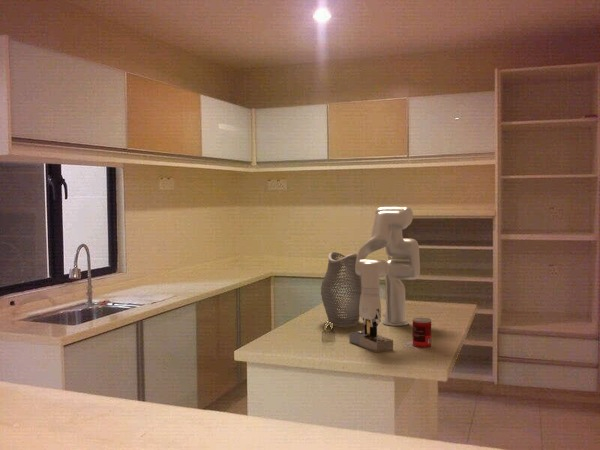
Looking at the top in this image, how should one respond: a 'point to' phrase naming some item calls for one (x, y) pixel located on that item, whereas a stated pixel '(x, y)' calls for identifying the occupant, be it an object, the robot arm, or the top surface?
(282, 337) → the top surface
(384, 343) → the bolted slotted plate
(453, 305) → the top surface
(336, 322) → the vase
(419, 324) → the canned food
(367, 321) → the pin
